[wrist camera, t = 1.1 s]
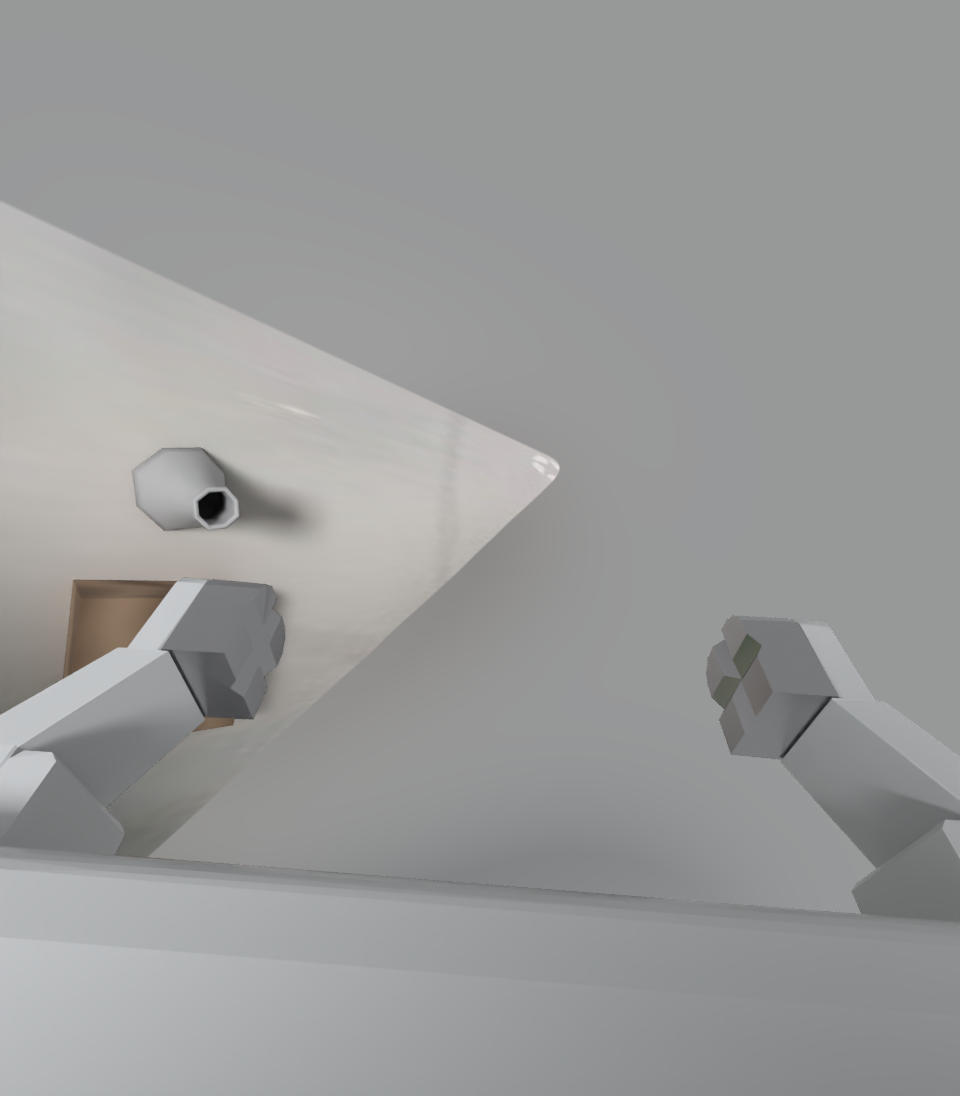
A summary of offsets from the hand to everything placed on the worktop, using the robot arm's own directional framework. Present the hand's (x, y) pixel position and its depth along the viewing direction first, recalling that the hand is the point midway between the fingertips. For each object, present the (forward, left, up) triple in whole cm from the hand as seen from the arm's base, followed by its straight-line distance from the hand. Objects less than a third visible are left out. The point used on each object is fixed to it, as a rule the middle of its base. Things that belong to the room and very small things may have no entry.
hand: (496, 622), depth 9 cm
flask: (+6, +1, -44) cm, 44 cm away
